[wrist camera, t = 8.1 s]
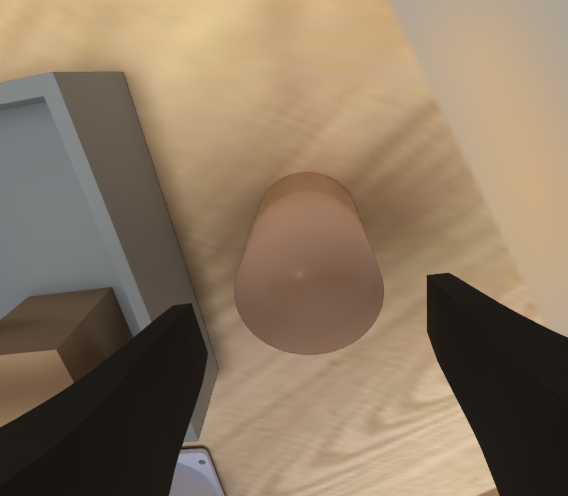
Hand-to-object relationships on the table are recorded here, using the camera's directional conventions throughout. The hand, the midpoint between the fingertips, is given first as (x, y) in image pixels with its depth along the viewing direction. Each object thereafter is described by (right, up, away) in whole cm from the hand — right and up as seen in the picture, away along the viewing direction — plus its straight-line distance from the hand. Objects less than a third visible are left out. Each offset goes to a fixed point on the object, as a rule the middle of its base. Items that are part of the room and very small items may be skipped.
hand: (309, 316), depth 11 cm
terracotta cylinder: (0, +4, +7) cm, 8 cm away
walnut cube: (-12, -2, +10) cm, 16 cm away
